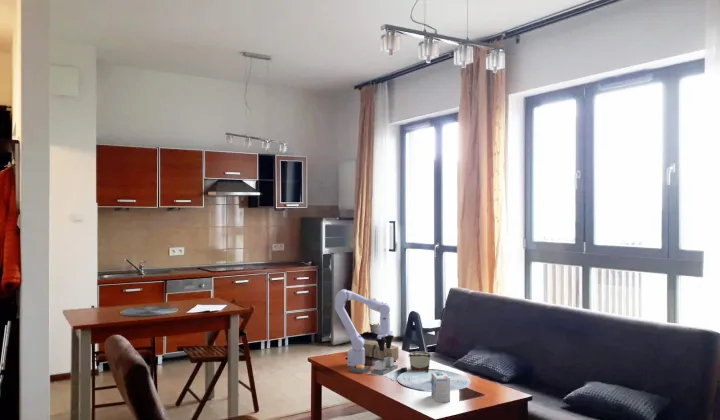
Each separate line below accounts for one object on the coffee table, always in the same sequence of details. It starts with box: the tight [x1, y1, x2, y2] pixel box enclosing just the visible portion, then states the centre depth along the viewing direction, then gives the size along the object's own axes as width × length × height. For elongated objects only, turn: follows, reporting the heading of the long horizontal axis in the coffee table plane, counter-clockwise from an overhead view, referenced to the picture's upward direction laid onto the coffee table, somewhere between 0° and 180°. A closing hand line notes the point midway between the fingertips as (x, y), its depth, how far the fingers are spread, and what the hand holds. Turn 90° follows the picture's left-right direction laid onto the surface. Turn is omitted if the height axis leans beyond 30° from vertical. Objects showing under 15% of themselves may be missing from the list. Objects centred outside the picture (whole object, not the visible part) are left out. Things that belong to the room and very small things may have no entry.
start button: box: [355, 364, 365, 369], centre depth 305 cm, size 4×4×3 cm
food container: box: [408, 350, 432, 372], centre depth 309 cm, size 12×6×10 cm, turn 84°
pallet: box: [366, 364, 402, 377], centre depth 305 cm, size 11×19×2 cm, turn 149°
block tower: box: [363, 339, 399, 362], centre depth 343 cm, size 8×8×29 cm
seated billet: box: [374, 359, 385, 372], centre depth 301 cm, size 4×4×6 cm
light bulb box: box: [430, 371, 451, 403], centre depth 259 cm, size 11×7×11 cm, turn 5°
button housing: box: [349, 365, 371, 375], centre depth 305 cm, size 8×8×3 cm
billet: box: [383, 357, 395, 368], centre depth 309 cm, size 4×4×6 cm
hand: (385, 349), depth 319 cm, fingers open, 7 cm apart
